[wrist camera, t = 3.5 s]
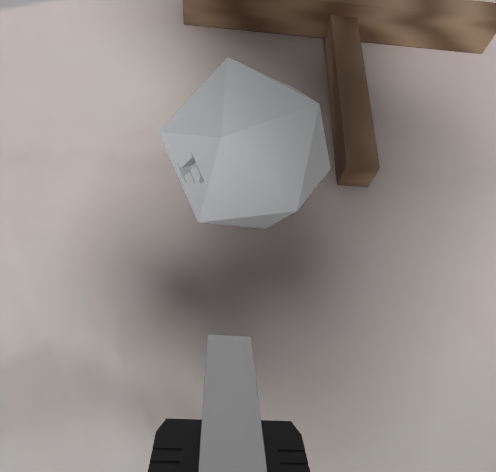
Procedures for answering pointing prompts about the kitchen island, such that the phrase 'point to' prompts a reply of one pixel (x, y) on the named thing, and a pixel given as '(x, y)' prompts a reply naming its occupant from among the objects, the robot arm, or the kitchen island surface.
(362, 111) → the walnut T rail
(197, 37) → the kitchen island surface
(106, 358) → the kitchen island surface
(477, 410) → the kitchen island surface
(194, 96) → the die
